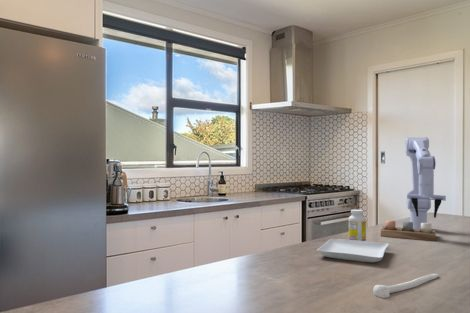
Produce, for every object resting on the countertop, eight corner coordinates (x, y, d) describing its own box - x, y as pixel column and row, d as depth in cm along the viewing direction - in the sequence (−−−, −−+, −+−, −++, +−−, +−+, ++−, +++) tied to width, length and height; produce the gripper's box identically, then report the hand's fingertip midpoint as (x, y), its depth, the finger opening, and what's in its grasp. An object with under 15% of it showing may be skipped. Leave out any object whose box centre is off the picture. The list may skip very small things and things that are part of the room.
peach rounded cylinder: (386, 227, 170) (386, 219, 170) (395, 228, 168) (395, 220, 168) (385, 229, 166) (385, 221, 166) (395, 230, 164) (395, 222, 164)
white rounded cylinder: (420, 230, 163) (420, 222, 163) (431, 231, 162) (431, 223, 162) (420, 232, 160) (420, 223, 160) (431, 233, 158) (431, 224, 158)
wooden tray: (383, 231, 173) (383, 226, 173) (434, 235, 164) (434, 230, 164) (380, 236, 163) (380, 230, 163) (435, 241, 154) (435, 234, 154)
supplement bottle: (363, 240, 155) (363, 209, 155) (367, 244, 149) (367, 211, 149) (347, 240, 156) (347, 208, 156) (350, 243, 149) (350, 211, 149)
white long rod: (427, 275, 111) (427, 265, 111) (441, 278, 108) (441, 268, 108) (369, 295, 95) (369, 283, 95) (384, 300, 92) (384, 288, 92)
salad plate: (315, 259, 128) (315, 249, 128) (330, 246, 147) (330, 237, 147) (382, 267, 118) (382, 257, 118) (389, 252, 137) (389, 243, 137)
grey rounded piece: (403, 229, 166) (403, 221, 166) (413, 229, 165) (413, 221, 165) (402, 230, 163) (402, 222, 163) (412, 231, 161) (412, 223, 161)
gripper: (407, 184, 160) (407, 216, 160) (446, 185, 154) (446, 219, 154) (407, 183, 167) (407, 214, 167) (445, 184, 160) (445, 216, 160)
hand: (426, 216), depth 161 cm, fingers open, 6 cm apart
